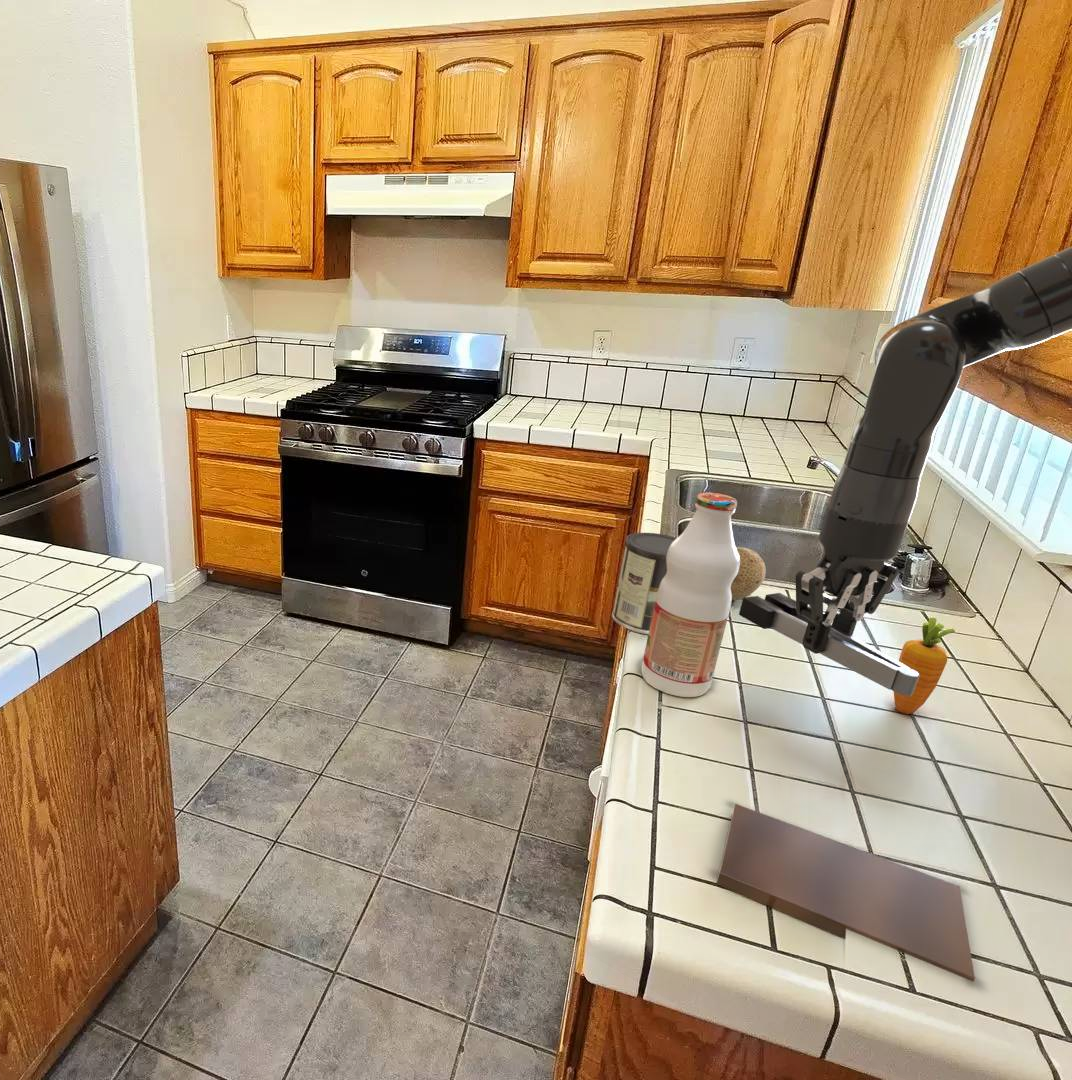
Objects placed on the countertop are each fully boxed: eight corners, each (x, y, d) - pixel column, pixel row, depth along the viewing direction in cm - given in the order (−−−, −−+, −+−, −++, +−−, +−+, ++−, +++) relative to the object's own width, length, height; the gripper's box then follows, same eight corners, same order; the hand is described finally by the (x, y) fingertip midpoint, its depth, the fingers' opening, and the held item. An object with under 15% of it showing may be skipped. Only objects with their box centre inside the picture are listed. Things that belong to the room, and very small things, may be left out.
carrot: (888, 703, 106) (922, 607, 101) (928, 720, 103) (966, 622, 97) (873, 714, 103) (908, 616, 98) (914, 732, 100) (953, 632, 94)
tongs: (738, 614, 96) (742, 597, 95) (774, 609, 98) (779, 592, 97) (889, 700, 78) (897, 680, 78) (930, 691, 80) (937, 672, 80)
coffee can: (679, 617, 129) (697, 540, 124) (671, 641, 120) (689, 560, 115) (617, 601, 133) (632, 527, 128) (605, 624, 125) (620, 545, 120)
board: (954, 897, 74) (959, 885, 73) (969, 991, 64) (975, 978, 64) (732, 814, 83) (735, 803, 83) (716, 884, 74) (719, 872, 73)
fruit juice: (660, 700, 104) (704, 509, 94) (628, 665, 113) (665, 486, 102) (723, 697, 105) (773, 509, 95) (686, 663, 114) (728, 486, 104)
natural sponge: (728, 612, 131) (741, 560, 128) (691, 591, 139) (703, 541, 135) (768, 607, 134) (782, 555, 130) (729, 586, 142) (742, 537, 138)
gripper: (880, 494, 88) (838, 625, 94) (791, 502, 83) (753, 640, 89) (947, 515, 81) (896, 655, 87) (854, 526, 76) (808, 673, 83)
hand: (824, 647), depth 88 cm, fingers closed on tongs, 3 cm apart
